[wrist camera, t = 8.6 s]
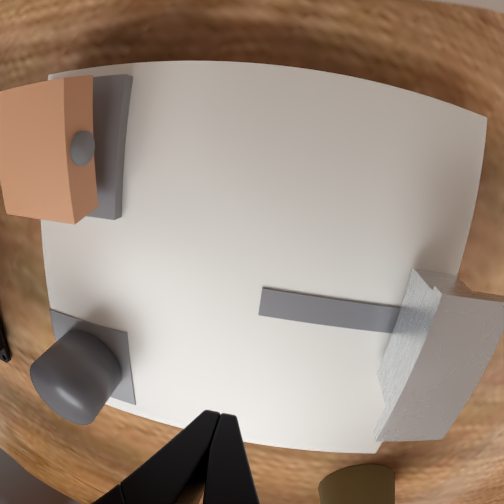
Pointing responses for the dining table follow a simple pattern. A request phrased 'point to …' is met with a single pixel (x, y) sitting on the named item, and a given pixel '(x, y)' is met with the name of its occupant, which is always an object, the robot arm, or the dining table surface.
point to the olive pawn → (359, 486)
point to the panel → (260, 240)
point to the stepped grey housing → (435, 355)
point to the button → (76, 376)
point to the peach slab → (48, 150)
